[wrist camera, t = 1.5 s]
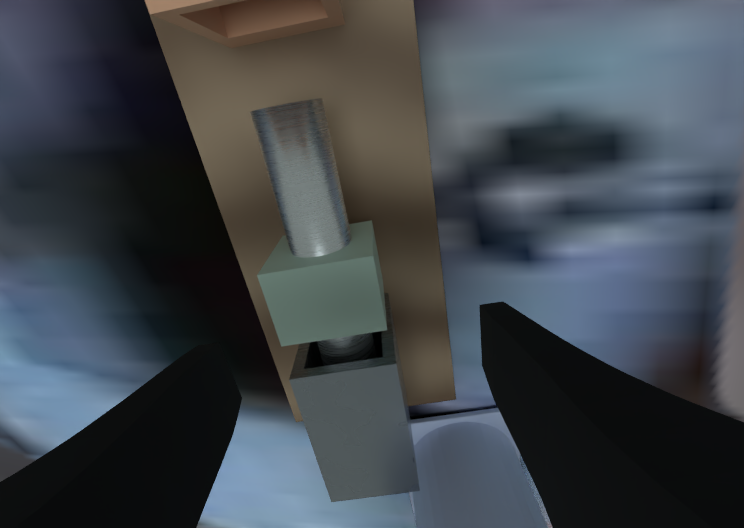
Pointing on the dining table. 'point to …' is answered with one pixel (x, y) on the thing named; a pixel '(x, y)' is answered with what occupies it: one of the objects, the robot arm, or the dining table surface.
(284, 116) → the tube
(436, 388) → the tube stand
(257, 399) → the dining table surface
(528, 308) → the dining table surface
